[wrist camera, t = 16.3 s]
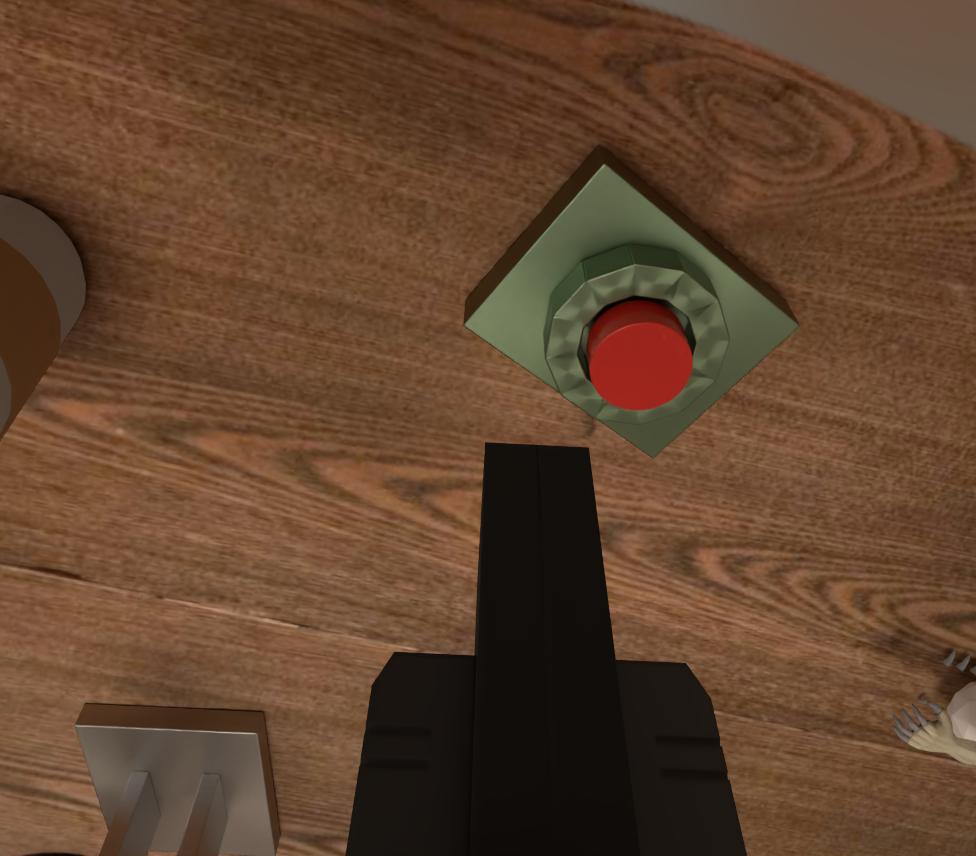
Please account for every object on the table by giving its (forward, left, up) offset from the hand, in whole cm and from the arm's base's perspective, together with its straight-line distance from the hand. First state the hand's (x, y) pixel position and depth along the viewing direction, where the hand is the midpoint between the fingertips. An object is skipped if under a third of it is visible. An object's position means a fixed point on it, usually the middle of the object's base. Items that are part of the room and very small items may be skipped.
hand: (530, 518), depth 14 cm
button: (+3, +8, -19) cm, 21 cm away
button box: (+3, +8, -22) cm, 24 cm away
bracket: (+42, +9, -22) cm, 48 cm away
